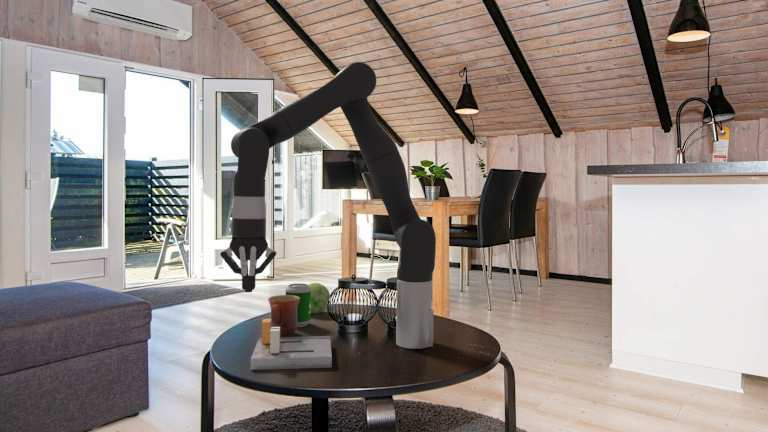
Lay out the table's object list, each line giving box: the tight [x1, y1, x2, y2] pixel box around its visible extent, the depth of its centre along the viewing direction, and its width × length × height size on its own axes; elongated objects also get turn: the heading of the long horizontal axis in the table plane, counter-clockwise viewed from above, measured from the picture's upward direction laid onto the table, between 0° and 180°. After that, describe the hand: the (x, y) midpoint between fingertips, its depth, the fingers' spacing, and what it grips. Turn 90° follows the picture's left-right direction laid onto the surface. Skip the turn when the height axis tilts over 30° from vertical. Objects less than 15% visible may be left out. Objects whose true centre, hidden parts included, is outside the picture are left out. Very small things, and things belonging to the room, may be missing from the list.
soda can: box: [285, 283, 312, 328], centre depth 155 cm, size 8×8×12 cm
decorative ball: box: [307, 282, 331, 314], centre depth 171 cm, size 10×10×10 cm
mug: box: [267, 294, 300, 337], centre depth 143 cm, size 12×9×10 cm
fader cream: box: [270, 327, 280, 353], centre depth 120 cm, size 2×4×5 cm, turn 7°
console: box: [250, 335, 333, 371], centre depth 125 cm, size 18×17×3 cm
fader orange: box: [261, 318, 272, 344], centre depth 128 cm, size 2×4×5 cm, turn 7°
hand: (248, 291), depth 119 cm, fingers closed
